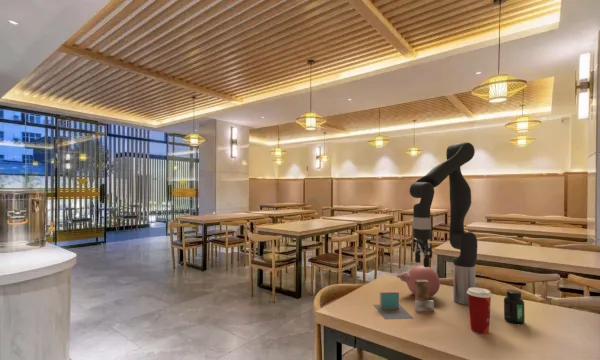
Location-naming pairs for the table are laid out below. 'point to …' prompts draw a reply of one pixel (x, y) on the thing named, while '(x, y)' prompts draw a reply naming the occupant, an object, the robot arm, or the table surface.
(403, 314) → the mat
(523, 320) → the supplement bottle
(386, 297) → the tile
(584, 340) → the table surface
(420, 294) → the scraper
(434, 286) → the pink rounded piece
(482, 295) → the coffee cup
